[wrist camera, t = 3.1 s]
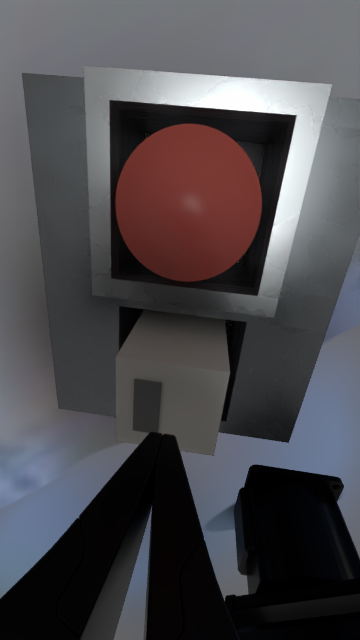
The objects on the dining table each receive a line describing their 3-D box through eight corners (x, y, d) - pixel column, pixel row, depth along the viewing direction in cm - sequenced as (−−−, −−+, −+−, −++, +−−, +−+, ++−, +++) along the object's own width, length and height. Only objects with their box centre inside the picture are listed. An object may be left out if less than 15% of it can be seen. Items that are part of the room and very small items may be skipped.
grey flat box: (346, 130, 12) (427, 91, 8) (273, 392, 18) (293, 459, 13) (76, 107, 13) (1, 59, 8) (88, 366, 19) (48, 421, 14)
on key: (224, 317, 14) (230, 374, 10) (213, 383, 16) (213, 457, 11) (145, 307, 14) (114, 358, 10) (142, 373, 16) (115, 442, 11)
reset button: (252, 156, 11) (277, 130, 7) (235, 257, 13) (246, 289, 8) (152, 146, 11) (114, 117, 7) (147, 247, 13) (115, 273, 9)
